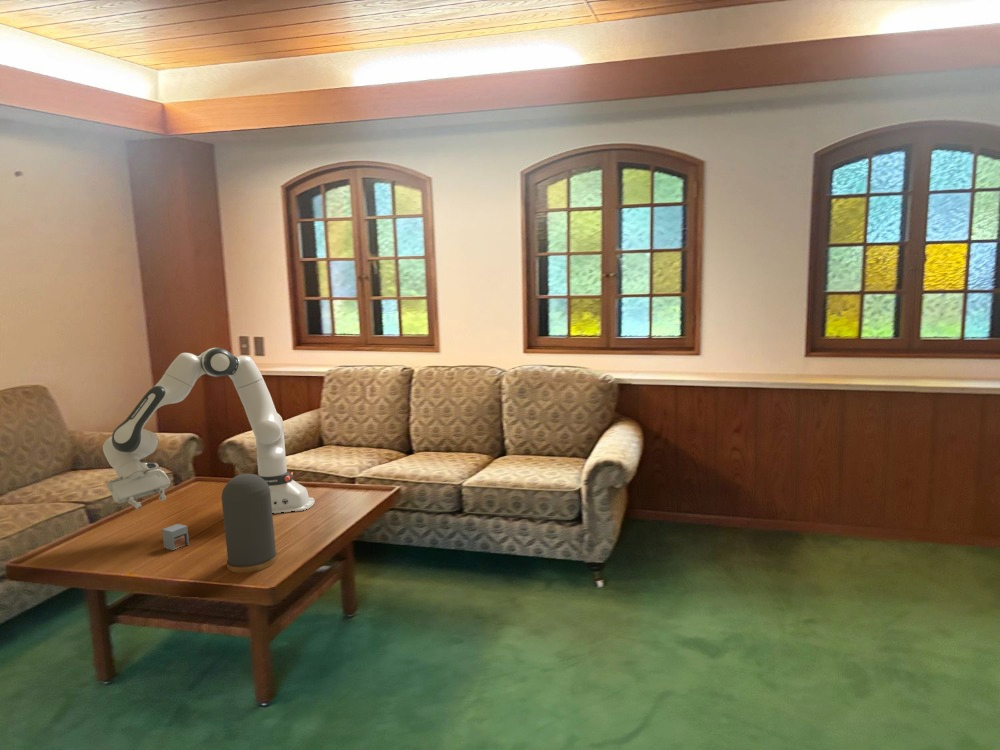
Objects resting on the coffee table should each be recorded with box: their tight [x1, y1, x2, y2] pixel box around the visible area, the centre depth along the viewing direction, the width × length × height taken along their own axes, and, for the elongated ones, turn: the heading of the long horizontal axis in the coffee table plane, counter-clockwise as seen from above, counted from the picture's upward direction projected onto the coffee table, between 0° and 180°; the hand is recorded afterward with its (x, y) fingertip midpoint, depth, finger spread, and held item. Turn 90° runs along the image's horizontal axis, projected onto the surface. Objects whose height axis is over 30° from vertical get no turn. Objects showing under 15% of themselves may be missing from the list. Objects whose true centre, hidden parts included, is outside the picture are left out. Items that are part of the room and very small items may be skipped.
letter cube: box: [174, 535, 186, 550], centre depth 246 cm, size 4×4×4 cm
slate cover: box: [161, 523, 190, 551], centre depth 246 cm, size 6×6×7 cm
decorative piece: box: [221, 473, 279, 574], centre depth 228 cm, size 16×16×30 cm
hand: (151, 503), depth 250 cm, fingers open, 8 cm apart
